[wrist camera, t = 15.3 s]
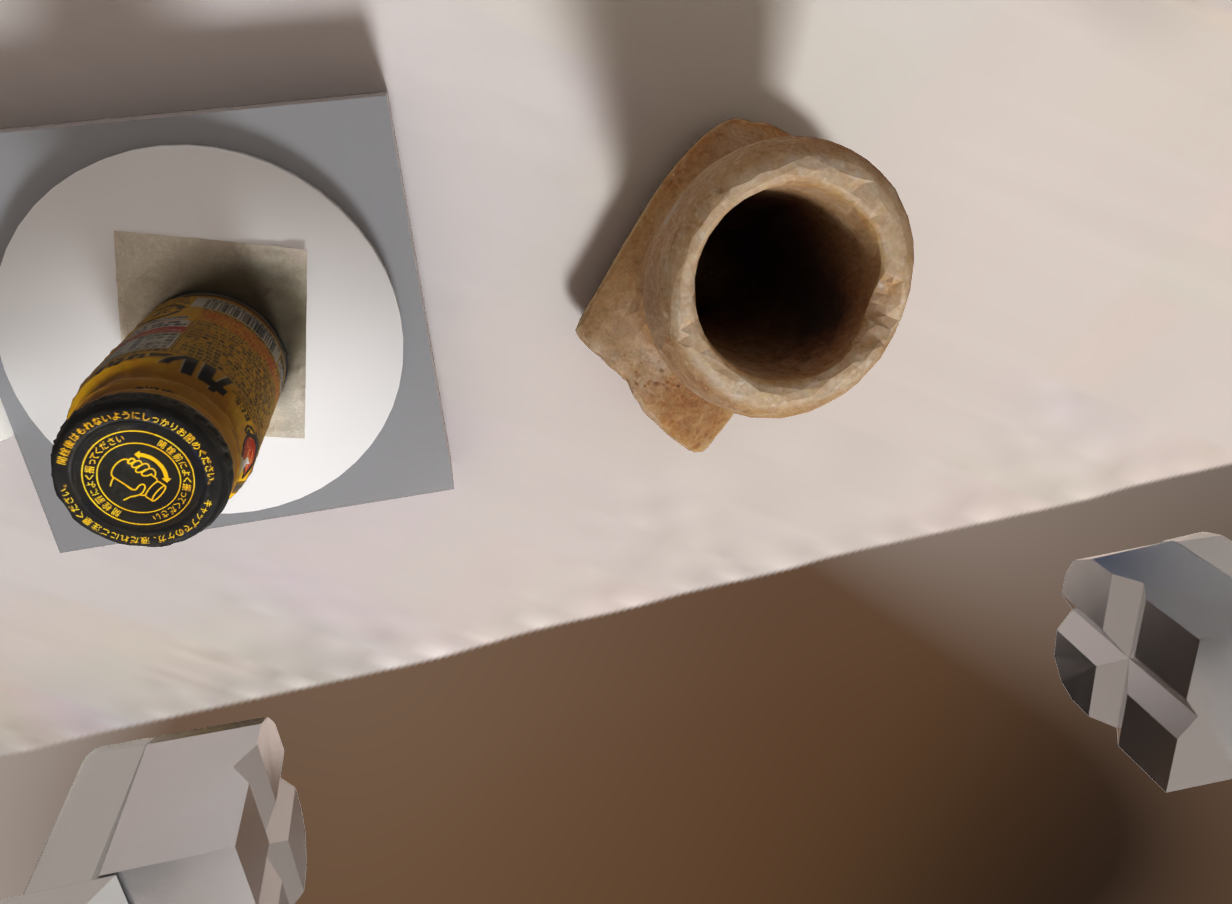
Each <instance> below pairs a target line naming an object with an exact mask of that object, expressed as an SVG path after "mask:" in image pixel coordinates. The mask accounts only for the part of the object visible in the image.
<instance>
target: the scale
mask: <svg viewBox="0 0 1232 904" xmlns="http://www.w3.org/2000/svg"><path fill="white" fill-rule="evenodd" d="M114 231H124V232H135V233H146V234H158V235H167V236H175V237H190V238H201V239H209V240H220V241H229V242H242V243H247V244H259V245H268V246H278V247H285V248H294V249H303V250H307V314H306V389H305V438H282V437H267V436H265V437H264V439H263V442H262V445H261V447H260V450H259V454H258V456H257V458H256V462H255V464H254V467H253V472H252V473H251V475H250V476H249V477H248V478H247V480H246V482H245V483H244V484H243V486H242V487H241V488H240V489H239V490H238V492H237V493H236V494H235V495H234V496H233V497H232V498H230V499H229V500H228V502H227V504H226V506H225V508H224V510H223V511H222V512H221V513H220V514H219V516H218V517H217V519H216V520H215V521H214V522H213V523H212V524H211V525H210V526H208V527H207V528H205V529H211V528H217V527H223V526H229V525H235V524H242V523H248V522H254V521H260V520H266V519H272V518H279V517H285V516H291V515H297V514H303V513H309V512H316V511H322V510H328V509H334V508H340V507H346V506H352V505H359V504H365V503H371V502H377V501H383V500H389V499H396V498H402V497H408V496H414V495H420V494H426V493H433V492H439V491H445V490H451V489H454V482H453V473H452V464H451V458H450V452H449V446H448V441H447V435H446V429H445V423H444V417H443V411H442V406H441V400H440V394H439V388H438V382H437V376H436V371H435V365H434V359H433V353H432V347H431V342H430V336H429V330H428V324H427V318H426V312H425V307H424V301H423V295H422V289H421V283H420V277H419V272H418V266H417V260H416V254H415V248H414V242H413V237H412V231H411V225H410V219H409V213H408V207H407V202H406V196H405V190H404V184H403V178H402V173H401V167H400V161H399V155H398V149H397V143H396V138H395V132H394V126H393V120H392V114H391V108H390V103H389V97H388V92H379V93H369V94H358V95H348V96H337V97H327V98H317V99H306V100H296V101H286V102H275V103H265V104H255V105H244V106H234V107H223V108H213V109H203V110H192V111H182V112H172V113H161V114H151V115H141V116H130V117H120V118H110V119H99V120H89V121H78V122H68V123H58V124H47V125H37V126H27V127H16V128H6V129H0V441H2V440H6V439H8V438H9V437H11V436H12V435H13V434H14V435H15V437H16V440H17V443H18V445H19V448H20V450H21V453H22V455H23V458H24V461H25V463H26V466H27V468H28V471H29V474H30V476H31V479H32V481H33V484H34V486H35V489H36V492H37V494H38V497H39V499H40V502H41V505H42V507H43V510H44V512H45V515H46V518H47V520H48V523H49V525H50V528H51V530H52V533H53V536H54V538H55V541H56V543H57V546H58V549H59V551H60V553H63V552H69V551H75V550H81V549H87V548H94V547H100V546H106V545H112V544H118V543H116V542H113V541H110V540H108V539H105V538H103V537H101V536H99V535H97V534H94V533H92V532H91V531H89V530H88V529H86V528H84V527H83V526H81V525H80V524H79V523H77V522H76V521H75V520H74V519H73V518H72V516H71V514H70V512H69V511H68V509H67V508H66V506H65V505H64V504H63V503H62V501H61V500H60V499H59V498H58V497H57V495H56V492H55V489H54V485H53V478H52V476H51V456H50V454H51V453H52V447H53V444H54V443H53V440H55V439H56V437H57V434H58V432H59V431H60V427H61V426H62V425H63V424H64V422H65V421H66V418H67V414H68V411H69V408H70V406H71V402H72V399H73V398H74V397H75V396H76V394H77V392H78V390H79V388H80V385H81V384H82V383H83V382H84V380H85V379H86V378H87V377H89V375H90V374H91V373H92V372H93V370H94V369H95V368H96V367H97V366H99V365H100V364H101V362H102V361H103V360H104V358H106V357H107V356H108V355H109V354H110V351H111V350H112V349H114V348H116V347H117V346H118V345H119V344H120V343H121V333H120V323H119V310H118V289H117V282H116V261H115V250H114ZM205 529H204V530H205Z"/></svg>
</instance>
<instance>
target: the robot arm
mask: <svg viewBox="0 0 1232 904" xmlns="http://www.w3.org/2000/svg"><path fill="white" fill-rule="evenodd" d="M1062 595H1063V597H1064V598H1065V599H1066V601H1067V602H1068V604H1069V605H1070V606H1071V608H1072V611H1071V612H1070V613H1069V615H1068V616H1067V617H1066V619H1065V620H1064V621H1063V622H1062V624H1061V625H1060V626H1059V628H1058V629H1057V634H1056V644H1055V655H1054V657H1055V660H1056V664H1057V667H1058V671H1059V675H1060V678H1061V682H1062V683H1063V685H1064V687H1065V688H1066V690H1067V692H1068V693H1069V695H1070V697H1071V698H1072V700H1073V701H1074V702H1075V703H1076V704H1077V705H1078V706H1079V707H1080V708H1081V709H1082V710H1083V711H1084V712H1085V713H1086V714H1087V715H1088V716H1090V717H1092V718H1094V719H1097V720H1099V721H1102V722H1104V723H1106V724H1109V725H1111V726H1114V727H1116V728H1117V734H1118V746H1119V747H1120V748H1121V749H1122V750H1123V751H1124V752H1125V753H1126V754H1127V755H1128V756H1129V757H1130V758H1131V759H1132V760H1133V761H1134V762H1135V763H1137V765H1138V766H1139V767H1141V768H1142V769H1143V770H1144V771H1145V772H1146V773H1147V774H1148V775H1149V776H1150V777H1151V778H1152V779H1153V780H1154V781H1155V782H1156V783H1157V784H1158V785H1159V786H1160V787H1161V788H1162V789H1163V790H1164V791H1165V792H1171V791H1176V790H1180V789H1185V788H1190V787H1195V786H1200V785H1204V784H1209V783H1214V782H1219V781H1223V780H1228V779H1232V541H1230V540H1229V539H1227V538H1226V537H1224V536H1222V535H1219V534H1213V533H1208V532H1200V533H1195V534H1191V535H1187V536H1182V537H1177V538H1173V539H1169V540H1164V541H1161V542H1159V543H1158V544H1153V545H1148V546H1143V547H1138V548H1133V549H1128V550H1123V551H1118V552H1113V553H1108V554H1103V555H1098V556H1093V557H1089V558H1083V559H1079V560H1074V561H1073V562H1072V564H1071V566H1070V567H1069V569H1068V570H1067V572H1066V574H1065V579H1064V585H1063V591H1062ZM283 756H284V749H283V746H282V743H281V740H280V737H279V734H278V731H277V728H276V725H275V723H274V722H273V721H272V720H271V719H269V718H268V717H263V718H257V719H252V720H246V721H240V722H234V723H229V724H223V725H217V726H211V727H206V728H200V729H194V730H189V731H182V732H177V733H171V734H165V735H160V736H156V737H155V738H144V739H139V740H134V741H129V742H124V743H118V744H112V745H107V746H102V747H98V748H96V749H95V750H94V751H92V752H91V753H89V754H88V755H87V756H86V757H85V759H84V761H83V763H82V765H81V767H80V769H79V771H78V773H77V776H76V778H75V780H74V783H73V784H72V787H71V789H70V792H69V793H68V796H67V798H66V800H65V802H64V805H63V807H62V809H61V811H60V813H59V816H58V818H57V820H56V822H55V824H54V827H53V829H52V831H51V833H50V835H49V838H48V840H47V842H46V844H45V847H44V849H43V851H42V853H41V855H40V858H39V860H38V862H37V864H36V866H35V869H34V871H33V873H32V875H31V878H30V880H29V882H28V885H27V886H26V889H25V891H24V893H23V895H19V896H15V897H11V898H6V899H3V900H2V901H1V902H0V904H294V903H295V902H296V901H297V900H298V898H299V897H300V896H301V895H302V893H303V892H304V885H305V875H306V865H307V864H306V837H305V827H304V822H303V816H302V810H301V806H300V802H299V799H298V795H297V792H296V788H295V787H294V786H292V785H290V784H289V783H288V782H286V781H285V780H283V779H282V778H280V774H281V768H282V762H283Z"/></svg>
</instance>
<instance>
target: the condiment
mask: <svg viewBox="0 0 1232 904" xmlns="http://www.w3.org/2000/svg"><path fill="white" fill-rule="evenodd" d="M114 250H115V261H116V282H117V289H118V310H119V323H120V333H121V343H120V344H119V345H118V346H117V347H116V348H114V349H112V350H111V351H110V354H109V355H108V356H107V357H106V358H104V360H103V361H102V362H101V364H100V365H99V366H97V367H96V368H95V369H94V370H93V372H92V373H91V374H90V375H89V377H87V378H86V379H85V380H84V382H83V383H82V384H81V385H80V388H79V390H78V392H77V394H76V396H75V397H74V398H73V399H72V402H71V406H70V408H69V411H68V414H67V418H66V421H65V422H64V424H63V425H62V426H61V427H60V431H59V432H58V434H57V437H56V439H55V440H53V443H54V444H53V447H52V453H51V454H50V456H51V476H52V478H53V485H54V489H55V492H56V495H57V497H58V498H59V499H60V500H61V501H62V503H63V504H64V505H65V506H66V508H67V509H68V511H69V512H70V514H71V516H72V518H73V519H74V520H75V521H76V522H77V523H79V524H80V525H81V526H83V527H84V528H86V529H88V530H89V531H91V532H92V533H94V534H97V535H99V536H101V537H103V538H105V539H108V540H110V541H113V542H116V543H119V544H125V545H137V546H147V547H163V546H167V545H171V544H173V543H176V542H180V541H184V540H186V539H189V538H190V537H192V536H194V535H196V534H197V533H199V532H201V531H203V530H204V529H205V528H207V527H208V526H210V525H211V524H212V523H213V522H214V521H215V520H216V519H217V517H218V516H219V514H220V513H221V512H222V511H223V510H224V508H225V506H226V504H227V502H228V500H229V499H230V498H232V497H233V496H234V495H235V494H236V493H237V492H238V490H239V489H240V488H241V487H242V486H243V484H244V483H245V482H246V480H247V478H248V477H249V476H250V475H251V473H252V472H253V467H254V464H255V462H256V458H257V456H258V454H259V450H260V447H261V445H262V442H263V439H264V437H265V436H267V437H282V438H305V389H306V314H307V250H303V249H294V248H285V247H278V246H268V245H259V244H247V243H242V242H229V241H220V240H209V239H201V238H190V237H175V236H167V235H158V234H146V233H135V232H124V231H114Z"/></svg>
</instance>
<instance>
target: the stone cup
mask: <svg viewBox="0 0 1232 904" xmlns="http://www.w3.org/2000/svg"><path fill="white" fill-rule="evenodd" d="M913 263H914V250H913V237H912V232H911V228H910V223H909V219H908V216H907V214H906V211H905V209H904V207H903V205H902V203H901V200H900V198H899V196H898V194H897V191H896V189H895V188H894V187H893V186H892V184H891V183H890V182H889V181H888V180H887V179H886V177H885V176H884V175H883V174H882V173H881V172H880V171H879V170H878V169H877V168H876V167H875V166H874V165H872V164H871V163H870V162H869V161H868V160H867V159H865V158H863V157H862V156H860V155H859V154H857V153H855V152H854V151H852V150H850V149H848V148H846V147H844V146H842V145H839V144H836V143H834V142H831V141H828V140H823V139H818V138H812V137H801V136H791V135H789V134H787V133H786V132H784V131H782V130H780V129H778V128H777V127H775V126H772V125H770V124H768V123H763V122H750V121H747V120H744V119H730V120H727V121H724V122H722V123H720V124H719V125H717V126H716V127H714V128H713V129H712V130H710V131H709V132H708V133H706V134H705V135H704V136H702V137H701V138H700V139H699V140H698V141H697V142H696V143H695V144H694V145H693V146H692V147H691V148H690V149H689V150H688V151H687V152H686V153H685V155H684V156H683V157H682V158H681V159H680V160H679V162H678V163H677V164H676V165H675V166H674V167H673V169H672V170H671V171H670V172H669V174H668V175H667V176H666V177H665V179H664V180H663V182H662V183H661V185H660V186H659V188H658V189H657V191H656V192H655V193H654V195H653V196H652V198H651V199H650V201H649V203H648V204H647V206H646V208H645V209H644V211H643V212H642V214H641V216H640V217H639V219H638V221H637V222H636V224H635V226H634V227H633V229H632V231H631V233H630V234H629V236H628V238H627V239H626V241H625V242H624V244H623V246H622V247H621V249H620V251H619V253H618V254H617V256H616V258H615V260H614V261H613V263H612V265H611V267H610V268H609V270H608V272H607V274H606V275H605V277H604V279H603V281H602V282H601V284H600V286H599V288H598V289H597V291H596V293H595V294H594V296H593V298H592V299H591V301H590V302H589V304H588V305H587V307H586V309H585V311H584V313H583V314H582V316H581V318H580V321H579V323H578V325H577V328H576V333H577V335H578V337H579V338H580V339H581V340H582V341H583V342H584V343H585V345H586V346H587V347H588V348H589V349H591V350H592V351H593V352H594V353H596V354H597V355H598V356H600V357H601V358H602V359H603V360H604V361H605V363H606V364H607V365H608V366H609V367H610V368H612V369H613V370H614V371H616V372H617V373H618V374H619V375H620V376H621V377H622V378H623V379H624V380H626V381H627V382H628V384H629V387H630V389H631V392H632V394H633V395H634V397H635V399H636V400H637V401H638V402H639V404H640V406H641V408H642V410H643V412H644V413H645V414H646V415H647V416H648V417H649V418H651V419H652V420H653V421H654V422H655V423H656V424H657V425H658V426H659V427H660V428H662V429H663V430H664V431H665V432H666V433H667V434H668V435H669V436H670V437H671V438H673V439H674V440H675V441H677V442H678V443H680V444H681V445H682V446H684V447H685V448H687V449H688V450H690V451H692V452H702V451H704V450H705V449H706V448H707V447H709V445H710V444H711V443H712V441H713V440H714V438H715V437H716V436H717V435H718V434H719V432H720V431H721V430H722V429H723V427H724V426H725V425H726V423H727V422H728V421H729V419H730V418H731V417H732V415H733V414H734V413H736V414H740V415H744V416H747V417H755V418H783V417H789V416H793V415H798V414H802V413H806V412H809V411H812V410H814V409H816V408H818V407H820V406H823V405H825V404H827V403H829V402H830V401H832V400H834V399H836V398H837V397H839V396H841V395H843V394H844V393H846V392H847V391H848V390H849V389H851V388H852V387H853V386H854V385H856V384H857V383H858V382H859V381H860V380H861V379H862V378H863V376H864V375H865V374H866V373H867V372H868V371H869V370H870V369H871V368H872V367H873V366H874V364H875V363H876V362H877V361H878V360H879V359H880V358H881V356H882V354H883V352H884V351H885V349H886V347H887V346H888V344H889V342H890V341H891V339H892V337H893V335H894V333H895V331H896V328H897V326H898V324H899V322H900V319H901V317H902V314H903V311H904V308H905V305H906V302H907V298H908V295H909V292H910V286H911V279H912V271H913Z"/></svg>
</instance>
